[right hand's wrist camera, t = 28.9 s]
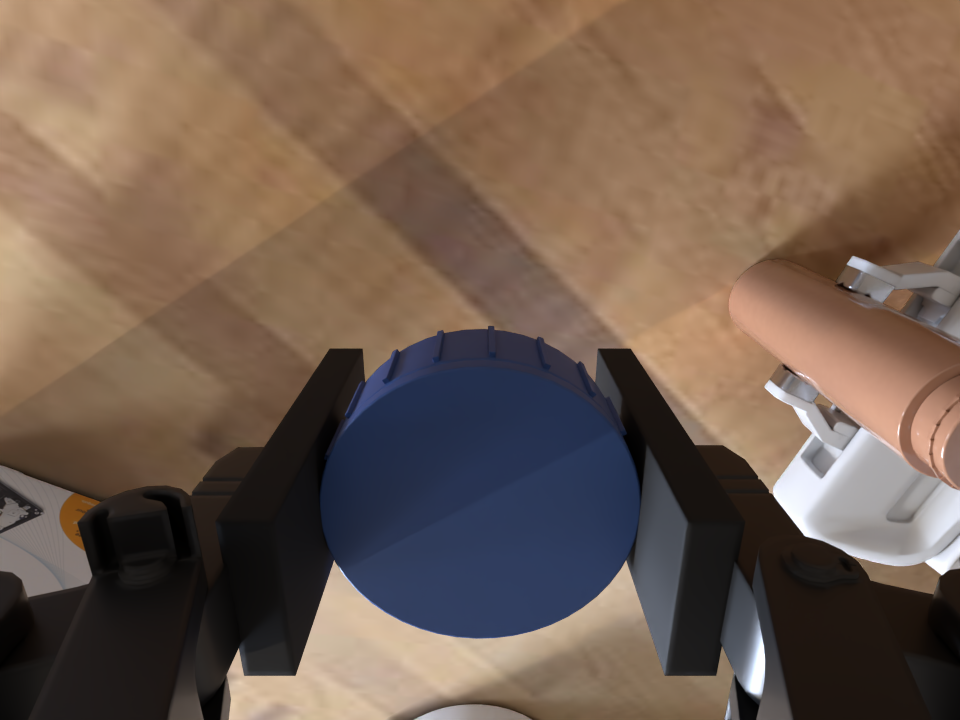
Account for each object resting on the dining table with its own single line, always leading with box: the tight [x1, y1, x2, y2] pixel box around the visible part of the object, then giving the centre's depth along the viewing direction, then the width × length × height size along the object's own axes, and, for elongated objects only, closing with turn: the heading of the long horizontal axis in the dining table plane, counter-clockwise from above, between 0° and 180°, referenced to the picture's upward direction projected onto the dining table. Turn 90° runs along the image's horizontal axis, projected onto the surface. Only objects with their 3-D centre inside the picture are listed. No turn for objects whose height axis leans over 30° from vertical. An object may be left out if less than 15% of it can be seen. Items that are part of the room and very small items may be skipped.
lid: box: [319, 326, 641, 638], centre depth 11 cm, size 6×6×2 cm
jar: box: [729, 259, 960, 491], centre depth 28 cm, size 5×5×18 cm
